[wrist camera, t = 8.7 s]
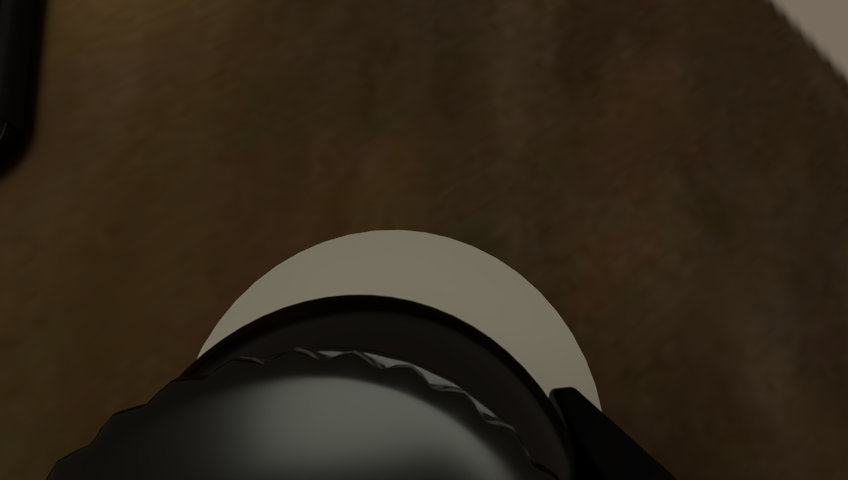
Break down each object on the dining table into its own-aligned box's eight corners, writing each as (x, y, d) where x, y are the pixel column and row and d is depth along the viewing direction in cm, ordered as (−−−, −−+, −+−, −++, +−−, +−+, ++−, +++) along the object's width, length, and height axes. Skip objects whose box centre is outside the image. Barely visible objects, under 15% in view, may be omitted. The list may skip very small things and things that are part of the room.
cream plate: (654, 607, 16) (669, 623, 15) (213, 736, 15) (198, 762, 14) (529, 202, 19) (535, 193, 18) (165, 283, 18) (151, 278, 17)
